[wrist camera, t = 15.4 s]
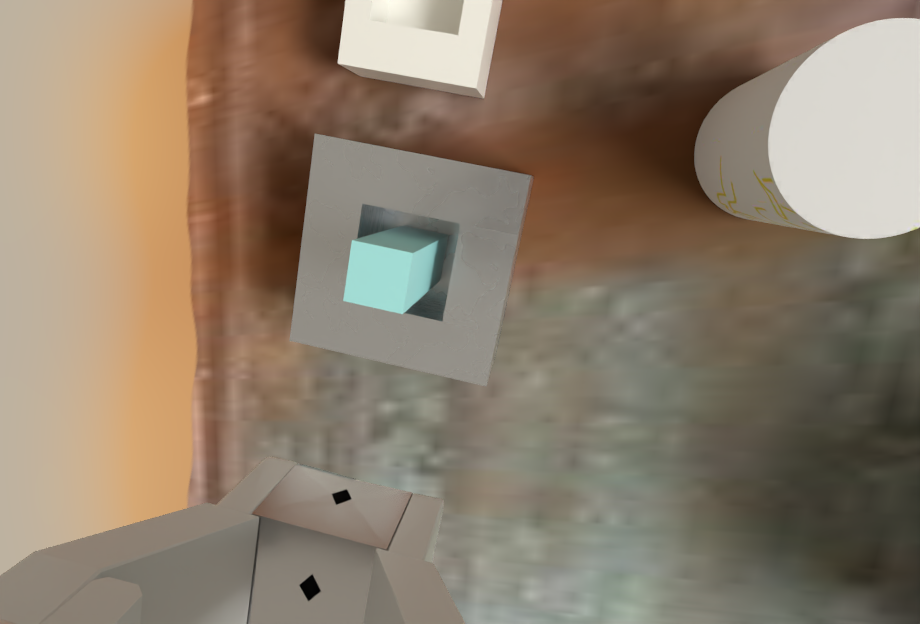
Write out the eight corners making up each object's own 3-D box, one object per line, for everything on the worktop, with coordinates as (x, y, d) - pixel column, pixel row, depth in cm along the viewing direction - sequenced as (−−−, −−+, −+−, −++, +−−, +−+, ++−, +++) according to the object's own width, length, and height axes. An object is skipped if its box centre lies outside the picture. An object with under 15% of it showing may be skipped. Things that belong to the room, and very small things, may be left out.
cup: (673, 198, 35) (735, 205, 24) (725, 59, 33) (820, -7, 22) (807, 237, 34) (938, 263, 23) (867, 98, 32) (1045, 50, 21)
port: (350, 141, 37) (314, 133, 31) (534, 176, 36) (531, 175, 30) (326, 317, 40) (289, 340, 34) (495, 356, 39) (486, 386, 33)
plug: (403, 225, 37) (352, 240, 27) (448, 234, 37) (412, 253, 27) (395, 270, 38) (343, 300, 28) (440, 280, 37) (402, 314, 28)
